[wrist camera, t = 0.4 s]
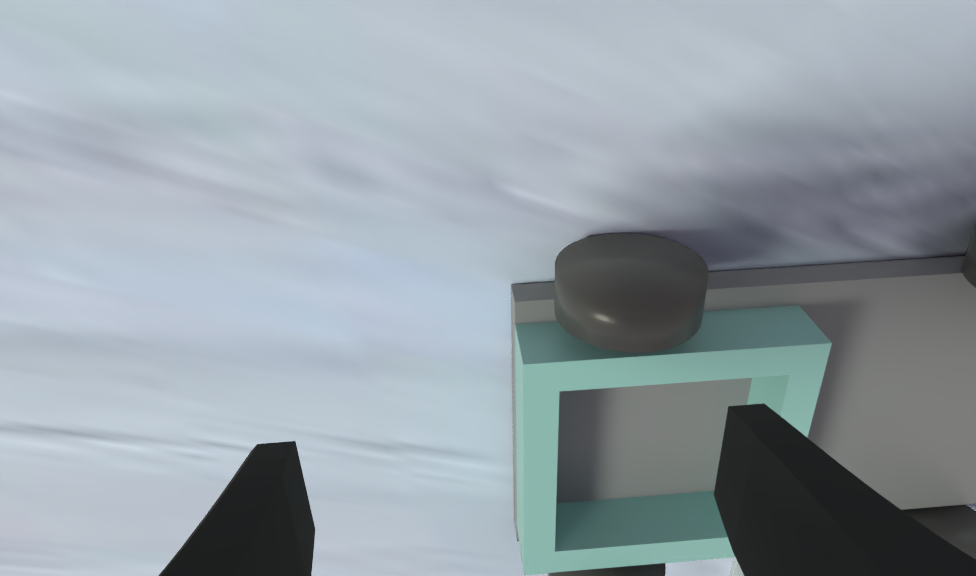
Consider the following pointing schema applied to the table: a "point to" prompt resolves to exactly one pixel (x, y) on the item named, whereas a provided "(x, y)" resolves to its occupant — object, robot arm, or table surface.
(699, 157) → the table surface
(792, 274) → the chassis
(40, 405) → the table surface
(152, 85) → the table surface
